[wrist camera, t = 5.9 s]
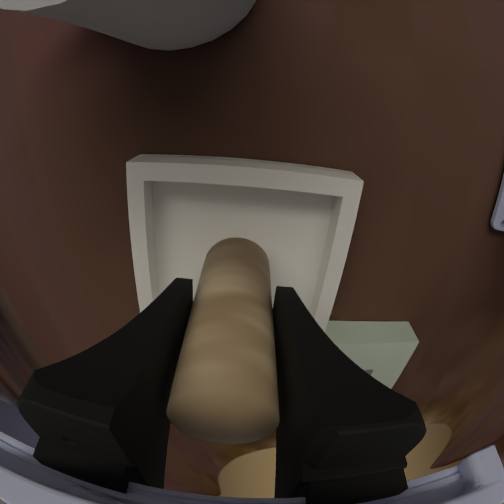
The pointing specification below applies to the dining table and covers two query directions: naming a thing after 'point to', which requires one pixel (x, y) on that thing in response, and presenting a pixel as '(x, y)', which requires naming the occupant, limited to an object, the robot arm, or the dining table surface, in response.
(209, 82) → the dining table surface
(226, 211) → the tray
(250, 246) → the peg
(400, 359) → the holder
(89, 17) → the cup
